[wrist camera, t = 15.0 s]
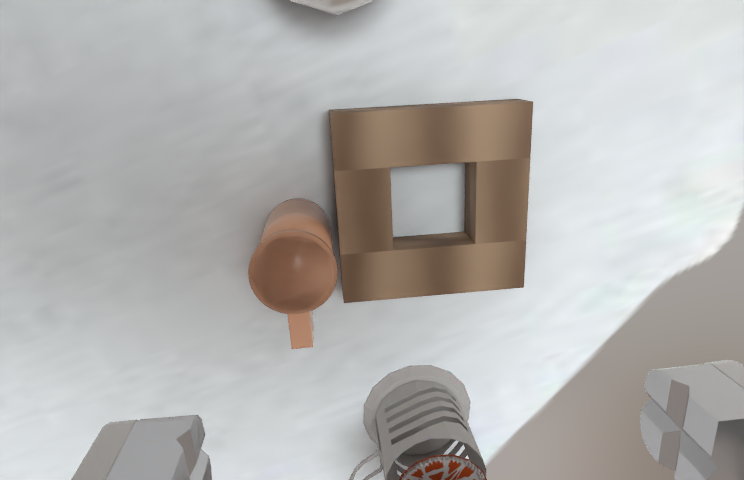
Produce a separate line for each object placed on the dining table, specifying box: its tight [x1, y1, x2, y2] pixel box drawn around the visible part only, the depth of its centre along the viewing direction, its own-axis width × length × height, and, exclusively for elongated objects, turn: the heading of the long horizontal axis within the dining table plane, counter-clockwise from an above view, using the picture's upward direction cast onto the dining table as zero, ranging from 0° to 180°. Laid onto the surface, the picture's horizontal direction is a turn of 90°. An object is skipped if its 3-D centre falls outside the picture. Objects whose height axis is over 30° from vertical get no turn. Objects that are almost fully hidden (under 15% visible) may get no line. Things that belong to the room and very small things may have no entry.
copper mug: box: [248, 199, 337, 349], centre depth 37 cm, size 8×5×9 cm, turn 3°
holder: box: [329, 99, 533, 303], centre depth 39 cm, size 14×14×3 cm
